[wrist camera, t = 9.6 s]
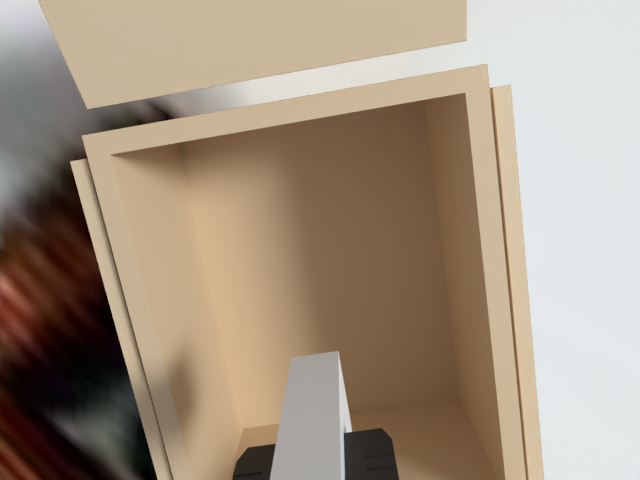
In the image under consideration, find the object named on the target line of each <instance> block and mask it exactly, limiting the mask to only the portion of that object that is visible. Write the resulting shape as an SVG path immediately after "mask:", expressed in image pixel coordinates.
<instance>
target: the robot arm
mask: <svg viewBox="0 0 640 480" xmlns="http://www.w3.org/2000/svg"><path fill="white" fill-rule="evenodd" d="M231 480H399V475H398V469H397V464H396V458H395V453H394V447H393V442H392V438H391V437H390V436H389V435H388V434H387V433H386V432H385V431H384V430H383V429H382V428H377V429H370V430H362V431H355V432H352V426H351V421H350V415H349V409H348V403H347V398H346V392H345V386H344V380H343V375H342V369H341V363H340V358H339V352H338V351H334V352H327V353H320V354H313V355H306V356H299V357H292V358H291V361H290V366H289V372H288V378H287V384H286V389H285V395H284V401H283V406H282V412H281V418H280V424H279V429H278V435H277V441H276V444H270V445H262V446H255V447H248V448H247V449H246V450H245V452H244V453H243V454H242V455H241V456H240V458H239V459H238V460H237V462H236V465H235V469H234V472H233V479H231Z"/></svg>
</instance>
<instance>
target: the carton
mask: <svg viewBox="0 0 640 480" xmlns="http://www.w3.org/2000/svg"><path fill="white" fill-rule="evenodd" d="M82 139H83V143H84V147H85V150H86V154H87V159H81V160H76V161H70V163H71V167H72V171H73V174H74V178H75V181H76V185H77V189H78V192H79V196H80V200H81V203H82V207H83V210H84V214H85V218H86V221H87V225H88V229H89V232H90V236H91V239H92V243H93V247H94V250H95V254H96V258H97V261H98V265H99V269H100V272H101V276H102V279H103V283H104V287H105V290H106V294H107V298H108V301H109V305H110V308H111V312H112V316H113V319H114V323H115V327H116V330H117V334H118V337H119V341H120V345H121V348H122V352H123V356H124V359H125V363H126V366H127V370H128V374H129V377H130V381H131V385H132V388H133V392H134V395H135V399H136V403H137V406H138V410H139V414H140V417H141V421H142V424H143V428H144V432H145V435H146V439H147V443H148V446H149V450H150V453H151V457H152V461H153V464H154V468H155V472H156V475H157V479H158V480H231V479H233V472H234V469H235V465H236V462H237V460H238V459H239V458H240V456H241V455H242V454H243V453H244V452H245V450H246V449H247V448H248V447H255V446H262V445H270V444H276V441H277V435H278V429H279V424H280V418H281V412H282V406H283V401H284V395H285V389H286V384H287V378H288V372H289V366H290V361H291V358H292V357H299V356H306V355H313V354H320V353H327V352H334V351H338V352H339V358H340V363H341V369H342V375H343V380H344V386H345V392H346V398H347V403H348V409H349V415H350V421H351V426H352V432H355V431H362V430H370V429H377V428H382V429H383V430H384V431H385V432H386V433H387V434H388V435H389V436H390V437H391V438H392V442H393V447H394V453H395V458H396V464H397V469H398V475H399V480H544V473H543V461H542V449H541V437H540V425H539V413H538V401H537V389H536V378H535V366H534V354H533V342H532V330H531V318H530V306H529V295H528V283H527V271H526V259H525V247H524V235H523V223H522V211H521V200H520V188H519V176H518V164H517V152H516V140H515V128H514V116H513V105H512V93H511V85H506V86H500V87H494V88H489V77H488V66H487V64H482V65H477V66H471V67H465V68H460V69H454V70H448V71H443V72H437V73H431V74H426V75H420V76H415V77H409V78H403V79H398V80H392V81H386V82H381V83H375V84H369V85H364V86H358V87H353V88H347V89H341V90H336V91H330V92H324V93H319V94H313V95H307V96H302V97H296V98H291V99H285V100H279V101H274V102H268V103H262V104H257V105H251V106H245V107H240V108H234V109H229V110H223V111H217V112H212V113H206V114H200V115H195V116H189V117H183V118H178V119H172V120H166V121H161V122H155V123H150V124H144V125H138V126H133V127H127V128H121V129H116V130H110V131H104V132H99V133H93V134H88V135H82Z"/></svg>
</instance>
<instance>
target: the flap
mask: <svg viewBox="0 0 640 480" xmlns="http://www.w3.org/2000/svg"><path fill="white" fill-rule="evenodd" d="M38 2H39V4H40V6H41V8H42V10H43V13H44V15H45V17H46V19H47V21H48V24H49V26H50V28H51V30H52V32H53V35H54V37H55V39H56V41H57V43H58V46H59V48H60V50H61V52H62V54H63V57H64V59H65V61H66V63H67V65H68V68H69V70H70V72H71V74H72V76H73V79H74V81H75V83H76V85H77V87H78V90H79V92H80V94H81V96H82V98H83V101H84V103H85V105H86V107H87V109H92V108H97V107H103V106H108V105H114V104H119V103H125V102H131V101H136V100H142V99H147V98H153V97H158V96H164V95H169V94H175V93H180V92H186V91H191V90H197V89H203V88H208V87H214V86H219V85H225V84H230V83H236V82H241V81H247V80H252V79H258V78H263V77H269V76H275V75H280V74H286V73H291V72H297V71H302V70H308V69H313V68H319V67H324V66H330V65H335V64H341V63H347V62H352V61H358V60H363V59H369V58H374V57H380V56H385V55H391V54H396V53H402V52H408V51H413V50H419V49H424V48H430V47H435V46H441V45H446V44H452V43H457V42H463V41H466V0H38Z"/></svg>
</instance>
